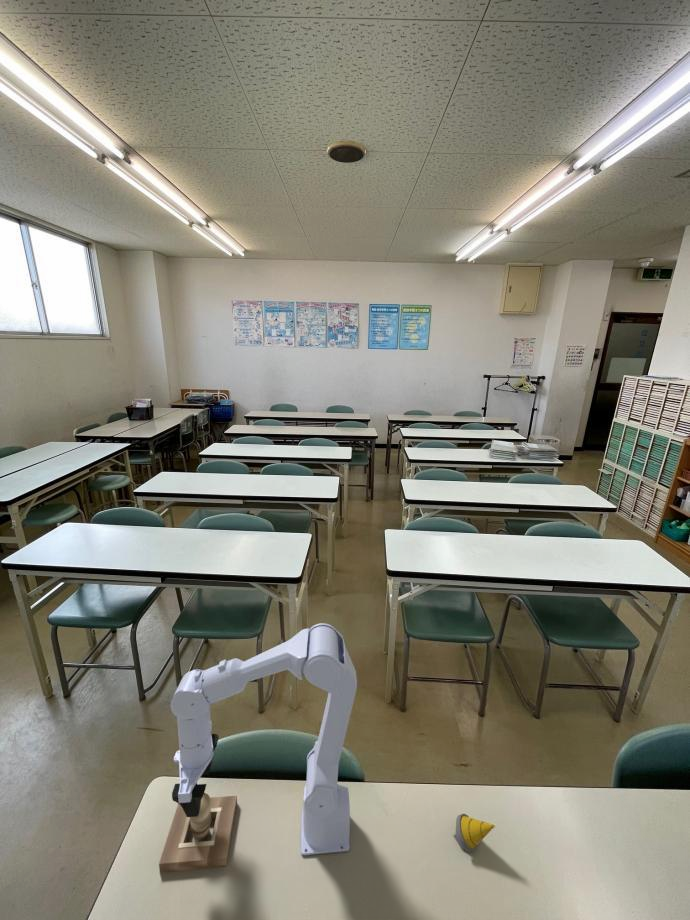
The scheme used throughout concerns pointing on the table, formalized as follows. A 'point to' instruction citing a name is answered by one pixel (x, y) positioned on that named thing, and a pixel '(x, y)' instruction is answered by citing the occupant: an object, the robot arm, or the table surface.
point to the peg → (202, 821)
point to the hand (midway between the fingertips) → (198, 793)
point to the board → (200, 853)
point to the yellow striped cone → (470, 832)
